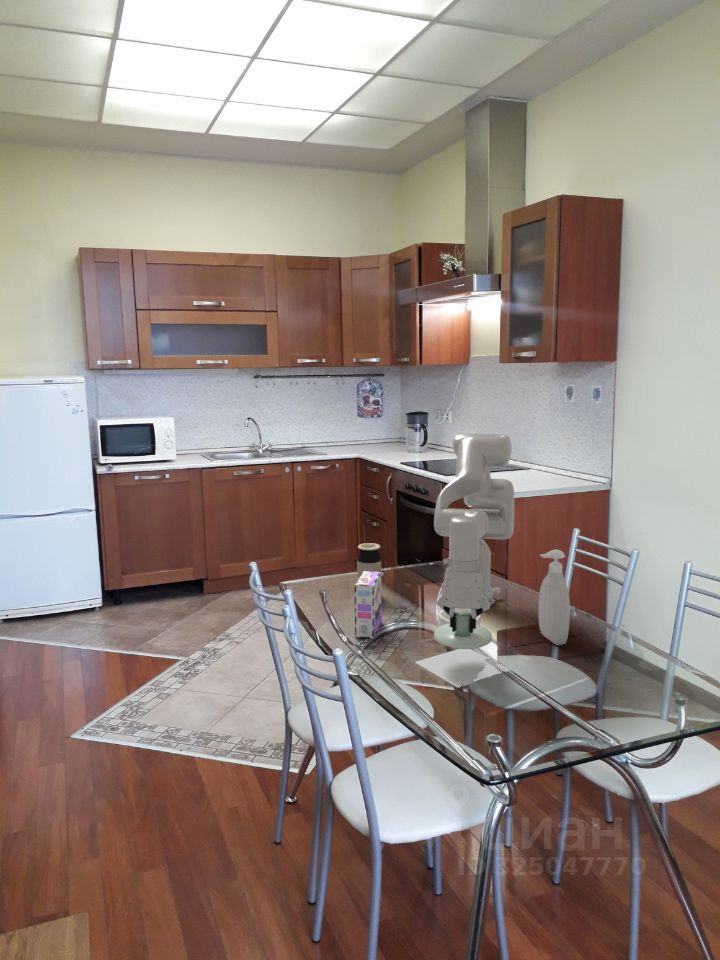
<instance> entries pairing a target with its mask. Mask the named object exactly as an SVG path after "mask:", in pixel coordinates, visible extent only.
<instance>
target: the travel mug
mask: <svg viewBox="0 0 720 960" xmlns="http://www.w3.org/2000/svg"><path fill="white" fill-rule="evenodd" d="M357 548H358V553H357V556H356V557H357V559H356V561H357V562H356V563H357V566H356V568H357V569H356V570H357V580H358V579H359V578H360V576H361V575H362V573H363V571H371V572H381V573H382V555H381V553H380V548H381V545H380V544H378V543H374V542H373V543H372V542H371V543H370V542H369V543H368V542H366V543H360V544H358V546H357Z"/></svg>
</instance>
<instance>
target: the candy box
mask: <svg viewBox="0 0 720 960" xmlns="http://www.w3.org/2000/svg"><path fill="white" fill-rule="evenodd" d="M382 615H383V614H382V571H381V572H371V571H363V573H362V575H361V576H360V578H359V579H358V578H357V581H356V583H355V584H354V637H355V638H359V639H375V637H376V635H377V633H378V631H379V629H380V626H381V624H382V622H383V621H382Z"/></svg>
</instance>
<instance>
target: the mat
mask: <svg viewBox="0 0 720 960" xmlns="http://www.w3.org/2000/svg"><path fill="white" fill-rule="evenodd" d="M485 658H486V656H485V655H482V654H481V653H480V652H477V651H475V650H474V649H457V648H456V649H454V650H450V651H447V652H443V653H441V654H437V655H433V656H430V657H427V658H423V659H420V660H417V661H414V663H415V664H417V665H418V666H420V667H422V668H423V669H425V670H427V671H429V672H430V673H432V674H433V675H435V676H437V677H438V678H441V680H444V681H445V682H447V683H449V684H450V685H452V686H454V687H455V688H457V689H460V688H462V687H465V686H468V685H471V684H475V683H474V679H476V678H477V676H478V675H477V674H479V672H481V671H483V669H484V668H485V667H484V666H485V665H486V664H485V660H486V659H485ZM497 667H498V668H499V669H500V670H501V671H505V673H507V672H511V671H512V669H510V668H508V667H506V666H504V665H502V664H500V663H498V664H497ZM462 684H463V686H462ZM461 686H462V687H461Z"/></svg>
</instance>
